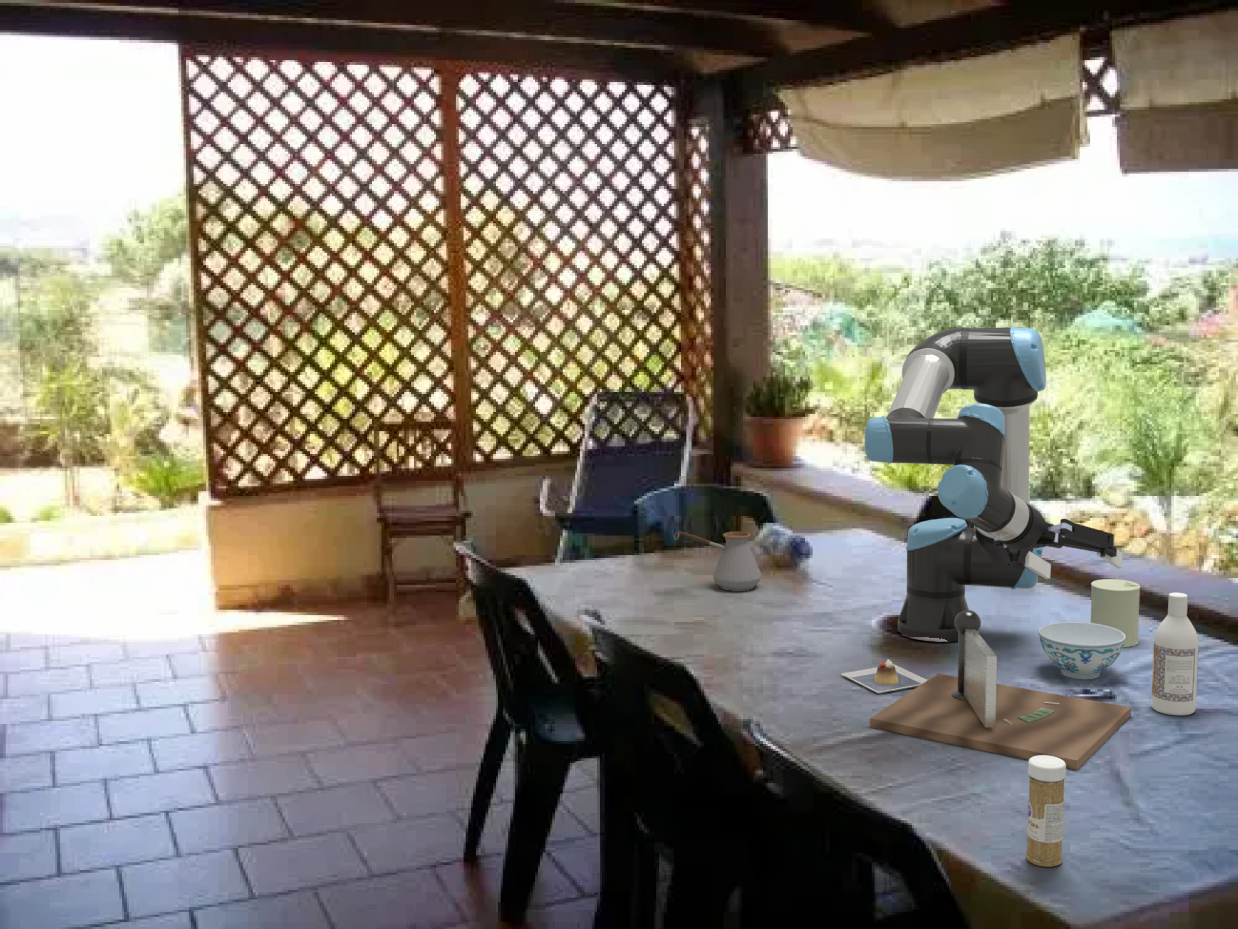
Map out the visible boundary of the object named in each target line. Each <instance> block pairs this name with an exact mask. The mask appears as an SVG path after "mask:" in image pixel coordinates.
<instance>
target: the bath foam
mask: <svg viewBox="0 0 1238 929" xmlns="http://www.w3.org/2000/svg"><path fill="white" fill-rule="evenodd" d="M1188 596H1189V595H1188V594H1186V593H1183V592H1170V593H1168V600H1167V601H1168V606H1167V607H1168V608H1167V615H1166V617H1165V618H1164V619H1163V620H1162V621H1161V623H1160V624H1159V625H1158V626H1157V628H1156V631H1155V634H1154V637H1153V648H1152V650H1153V651H1152V652H1153V653H1152V673H1151V674H1152V675H1151V677H1152V678H1151V702H1150V703H1151V708H1152V709H1153V710H1155V711H1156V712H1159V713H1160V714H1164V715H1169V716H1189V715H1192V714H1194V713H1195V712H1196V708H1197V695H1198V693H1197V692H1198V676H1199V675H1198V673H1199V672H1198V670H1199V652H1200V650H1199V649H1200V645H1199V636H1198V633H1197V631H1196V628H1195V627H1194V625H1193V624H1192V621H1191V620H1190V619H1189V617H1188V616H1187V615H1188V602H1189V601H1188V599H1189V598H1188Z"/></svg>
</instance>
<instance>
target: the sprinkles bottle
mask: <svg viewBox="0 0 1238 929" xmlns="http://www.w3.org/2000/svg"><path fill="white" fill-rule="evenodd" d="M1027 774H1028V777H1029V778H1028V779H1029V781H1028V782H1029V783H1028V784H1029V787H1028V804H1027V808H1028V809H1027V825H1026V826H1027V830H1026V834H1027V838H1026V840H1027V842H1026V844H1027V845H1026V848H1027V849H1026V852H1025V858H1026V860H1027V861H1028V862H1030V863H1031V864H1033V865H1035V866H1038V867H1043V868H1044V867H1045V868H1047V867H1056V866H1059V865H1061V864H1062V862H1063V855H1062V852H1063V851H1062V850H1063V839H1064V838H1063V836H1064V816H1065V814H1064V813H1065V812H1064V811H1065V809H1064V808H1065V798H1064V797H1065V796H1064V795H1065V791H1064V789H1065V779H1066V776H1067V768H1066V764H1065V762H1064V761H1063V760H1062V759H1060V758H1057V757H1054V756H1048V755H1038V756H1034V757H1032V758H1030V759H1029V760H1028V764H1027Z"/></svg>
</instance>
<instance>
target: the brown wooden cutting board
mask: <svg viewBox="0 0 1238 929" xmlns="http://www.w3.org/2000/svg"><path fill="white" fill-rule="evenodd" d="M920 684H921V683H920ZM1131 716H1132V707H1131V706H1125V705H1118V704H1114V703H1108V702H1101V701H1097V700H1091V699H1085V698H1078V697H1073V696H1068V695H1063V694H1057V693H1051V692H1045V691H1041V690H1035V689H1028V688H1024V687H1017V686H1011V685H1006V684H1000V683H996V719H995V727H985V726H984V725H983V723H982V722H981V720H980V719H979V717H978V715H977V714H976V712H975V711H974V709H973V708H972V706H971V705H970V703H969V702H968V700H967V699H966V697H965V696H964V694H962V693H959V692H958V676H955V675H950V674H943V673H936V674H935V675H933V676H932V677H930V678H929V679H927V681H926V682H924V683H923V684H921V685H920V686H918V687H914V689H912V690H910V691H909V692H908V693H906V694H904V695H902V696H901V697H899V698H898V699H897V700H895V701H894V702H892V703H891V704H889V705H888V706H886V707H885V708H883V709H882V710H880V711H879V712H877V713H875V714H873V715H872V716H871V717H870V718H869V728H872V729H877V730H883V731H887V730H889V731H888V732H892V731H893V733H897V734H902V735H906V736H912V737H916V738H921V739H925V740H926V739H927V740H931V741H935V742H941V743H945V744H950V745H955V746H961V747H965V748H969V749H974V750H979V751H984V752H988V753H994V754H998V755H1003V756H1007V757H1012V758H1016V759H1017V758H1018V759H1021V760H1027V761H1029V759H1030V758H1032V757H1034V756H1038V755H1048V756H1054V757H1057V758H1060V759H1062V760H1063V761H1064V762H1065V764H1066V769H1068V770H1069V769H1070V770H1074V771H1075V770H1076V771H1078V770H1079V768H1081V767H1082V766H1083V765H1084V764H1085V763H1086V761H1088V760H1089V759H1090V757H1092V756H1093V755H1094V754H1095V753H1096V752H1097V751H1098V750H1099V749H1100V748H1101V747H1102V745H1104V743H1106V742H1107V741H1108V739H1110V738H1111V736H1113V735H1114V734H1115V733H1116V731H1118V730H1119V729H1120V728H1121V727H1122V725H1124V724H1125V723H1126V722H1127V720H1129V719H1130V718H1131Z"/></svg>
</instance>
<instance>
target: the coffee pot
mask: <svg viewBox="0 0 1238 929" xmlns="http://www.w3.org/2000/svg"><path fill="white" fill-rule="evenodd" d="M677 534H678V535H677ZM676 535H677V538H676ZM680 536H683V537H684V538H687V539H691V541H694V542H698V543H701V544H705V545H709V546H712V547H715V548H717V549H720V550H722V552H721V555H720V557H719V560H718V561H717V565H716V567H715V568H714V571H713V573H712V577H713V578H712V579H713V581H714V582H715V583H716V584H717V585H718V586H720V588H721V589H722V590H724V589H727V590H732V591H731V592H746V591H745V590H747V591H750V590H749V589H751V590H753V589H754V588H755V587H756V586H757V585H758V584H759V583H760V582H761V580H762V573H761V570H760V568H759V566H758V564H757V561H756V558H755V556H754V554H753V552H752V549H751V547H750V545H749V538H750V537H751V536H752V535H751V533H749V532H746V531H728V532H724V533H723V534H722V536H723V537H724V539H725V542H726V543H725V545H723V544H720V543H716V542H714V541H710V540H708V539H706V538H703V537H700V536H699V535H695V534H690V533H688V532H683V531H680V530H677V531H676V532H675V533H674V535H673V539H674V540H678V539H679V538H680ZM727 590H726V591H727Z"/></svg>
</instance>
